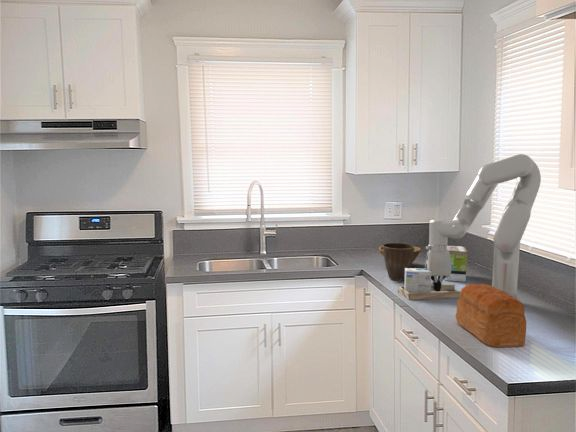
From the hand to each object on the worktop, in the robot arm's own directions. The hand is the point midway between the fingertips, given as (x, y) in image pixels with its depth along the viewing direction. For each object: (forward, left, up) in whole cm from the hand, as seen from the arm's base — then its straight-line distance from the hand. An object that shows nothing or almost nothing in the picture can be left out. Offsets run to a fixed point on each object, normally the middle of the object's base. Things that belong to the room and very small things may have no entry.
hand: (437, 290), depth 230 cm
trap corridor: (0, +2, -2) cm, 3 cm away
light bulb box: (+1, +9, -2) cm, 9 cm away
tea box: (+28, -22, -2) cm, 36 cm away
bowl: (+56, -5, -2) cm, 56 cm away
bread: (-49, +4, -2) cm, 49 cm away
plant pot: (+30, +6, -2) cm, 31 cm away
